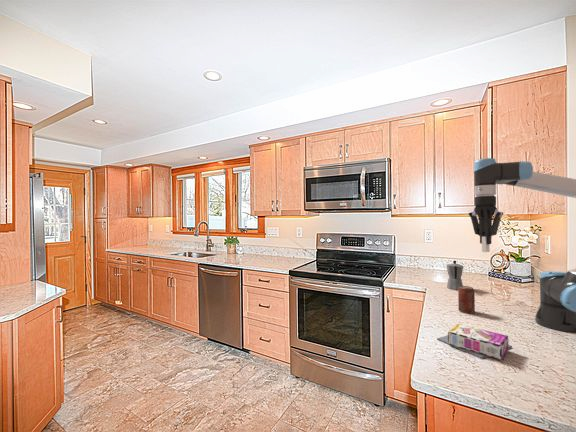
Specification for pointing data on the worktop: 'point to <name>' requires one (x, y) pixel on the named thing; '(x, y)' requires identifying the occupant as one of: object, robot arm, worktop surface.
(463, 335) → the candy bar box
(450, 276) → the coffeepot
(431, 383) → the worktop surface
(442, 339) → the mat
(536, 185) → the robot arm
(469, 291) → the soda can
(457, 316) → the worktop surface
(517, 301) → the worktop surface
